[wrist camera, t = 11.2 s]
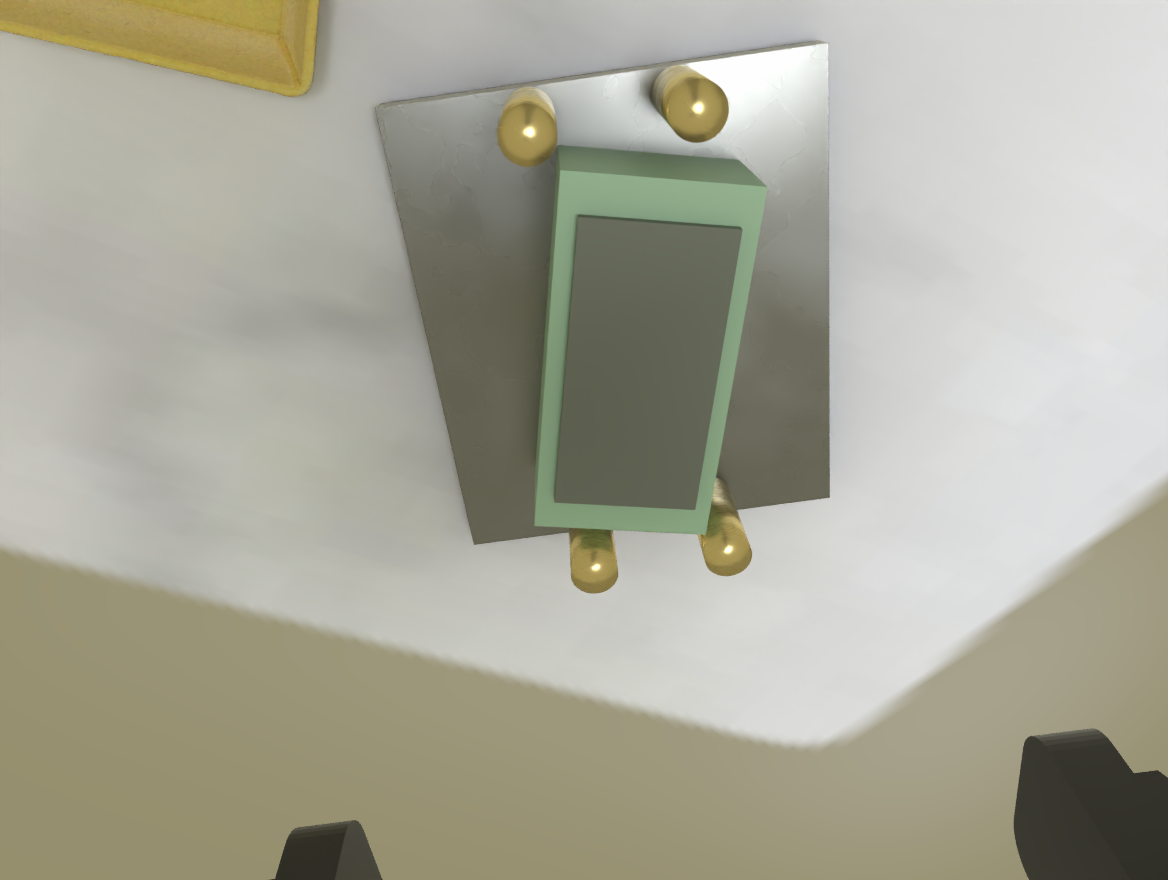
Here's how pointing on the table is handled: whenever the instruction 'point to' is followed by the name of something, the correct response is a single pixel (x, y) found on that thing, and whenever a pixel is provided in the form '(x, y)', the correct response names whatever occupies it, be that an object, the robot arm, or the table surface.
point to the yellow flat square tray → (185, 35)
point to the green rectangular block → (641, 336)
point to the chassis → (522, 257)
